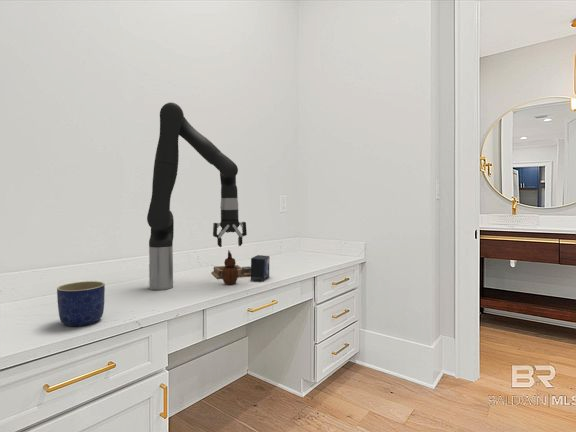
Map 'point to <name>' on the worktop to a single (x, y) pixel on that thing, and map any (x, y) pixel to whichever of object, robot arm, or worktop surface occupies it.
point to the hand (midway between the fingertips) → (230, 246)
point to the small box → (260, 268)
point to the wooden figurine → (230, 270)
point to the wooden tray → (241, 271)
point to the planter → (81, 302)
